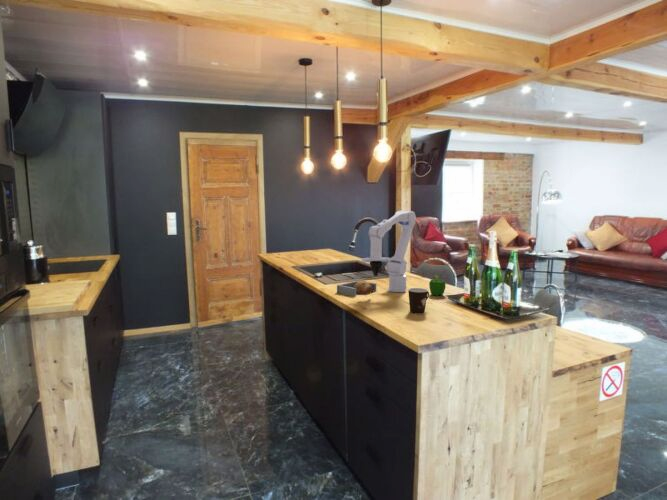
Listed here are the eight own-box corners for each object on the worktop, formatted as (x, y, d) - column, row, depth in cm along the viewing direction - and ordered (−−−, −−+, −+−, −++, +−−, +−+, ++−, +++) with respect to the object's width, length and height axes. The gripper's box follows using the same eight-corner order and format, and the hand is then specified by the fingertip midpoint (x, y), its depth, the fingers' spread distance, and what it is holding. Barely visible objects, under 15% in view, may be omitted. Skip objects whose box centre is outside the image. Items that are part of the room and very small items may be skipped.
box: (376, 290, 232) (376, 283, 232) (354, 296, 219) (354, 288, 218) (358, 287, 240) (358, 280, 240) (337, 292, 227) (337, 285, 226)
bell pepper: (445, 297, 219) (446, 278, 218) (429, 296, 221) (429, 277, 220) (444, 293, 227) (445, 275, 226) (428, 292, 229) (429, 274, 228)
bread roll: (352, 297, 233) (347, 284, 230) (366, 287, 237) (361, 275, 234) (363, 301, 224) (358, 288, 222) (377, 291, 229) (372, 278, 226)
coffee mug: (412, 315, 186) (413, 292, 185) (404, 309, 194) (405, 288, 193) (436, 313, 189) (437, 291, 188) (427, 308, 198) (428, 287, 196)
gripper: (386, 248, 224) (385, 273, 226) (360, 248, 221) (359, 274, 222) (391, 250, 217) (390, 276, 219) (364, 250, 214) (364, 277, 216)
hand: (375, 275), depth 220 cm, fingers closed
